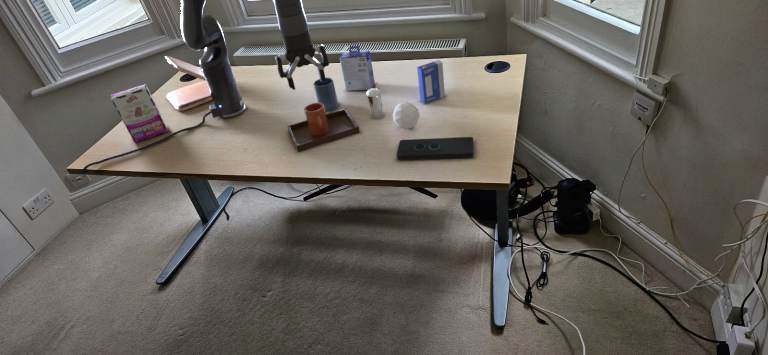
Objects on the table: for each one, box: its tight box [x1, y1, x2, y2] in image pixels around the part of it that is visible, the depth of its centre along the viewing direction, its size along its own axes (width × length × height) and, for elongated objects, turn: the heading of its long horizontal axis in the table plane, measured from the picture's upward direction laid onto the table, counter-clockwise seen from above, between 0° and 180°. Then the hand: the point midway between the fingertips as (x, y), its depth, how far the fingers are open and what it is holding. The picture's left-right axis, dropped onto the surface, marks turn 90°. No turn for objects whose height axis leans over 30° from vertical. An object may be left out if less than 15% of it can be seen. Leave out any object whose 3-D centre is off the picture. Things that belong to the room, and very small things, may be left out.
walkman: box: [416, 59, 446, 105], centre depth 148 cm, size 8×3×12 cm, turn 116°
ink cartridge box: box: [339, 45, 376, 92], centre depth 163 cm, size 10×6×14 cm, turn 78°
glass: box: [313, 77, 339, 112], centre depth 155 cm, size 6×6×9 cm
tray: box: [287, 108, 361, 153], centre depth 143 cm, size 19×14×2 cm
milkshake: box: [365, 81, 384, 119], centre depth 145 cm, size 5×5×10 cm
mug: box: [303, 102, 329, 136], centre depth 140 cm, size 8×6×8 cm
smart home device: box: [396, 136, 474, 161], centre depth 126 cm, size 8×2×20 cm
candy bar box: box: [110, 83, 169, 144], centre depth 155 cm, size 11×5×16 cm, turn 117°
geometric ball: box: [392, 101, 420, 130], centre depth 137 cm, size 8×8×8 cm
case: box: [164, 55, 213, 112], centre depth 178 cm, size 20×21×16 cm
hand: (307, 84), depth 136 cm, fingers open, 8 cm apart
